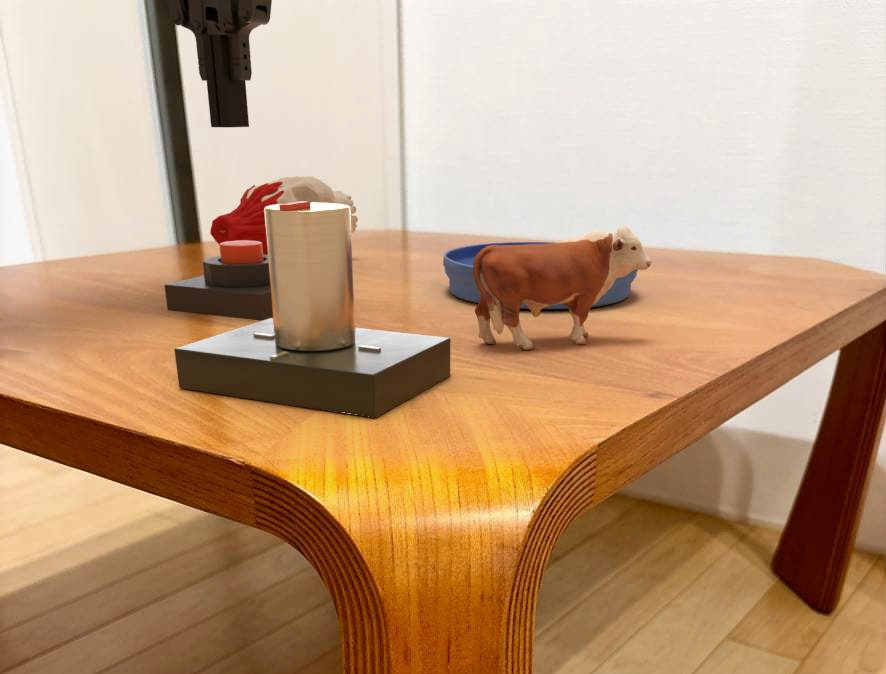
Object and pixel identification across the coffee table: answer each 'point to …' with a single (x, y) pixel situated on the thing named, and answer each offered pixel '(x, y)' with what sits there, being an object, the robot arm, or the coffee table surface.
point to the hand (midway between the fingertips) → (230, 126)
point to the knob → (311, 275)
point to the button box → (225, 290)
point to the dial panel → (316, 369)
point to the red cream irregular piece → (251, 214)
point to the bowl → (465, 288)
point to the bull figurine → (551, 279)
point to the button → (241, 251)
